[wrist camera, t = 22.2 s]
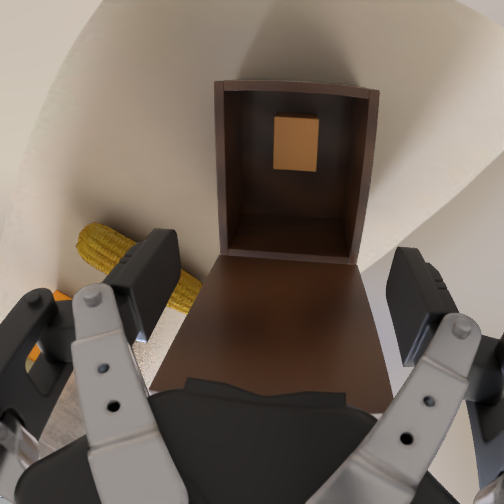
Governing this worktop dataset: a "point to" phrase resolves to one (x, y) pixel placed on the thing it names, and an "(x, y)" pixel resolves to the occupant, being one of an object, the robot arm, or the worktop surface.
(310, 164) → the tan cuboid
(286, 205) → the bin
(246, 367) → the bread lid
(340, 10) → the worktop surface
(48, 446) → the grey jug
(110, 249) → the food
